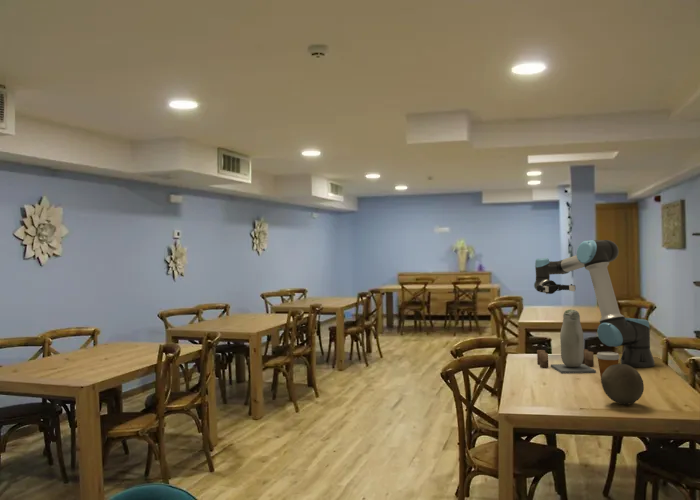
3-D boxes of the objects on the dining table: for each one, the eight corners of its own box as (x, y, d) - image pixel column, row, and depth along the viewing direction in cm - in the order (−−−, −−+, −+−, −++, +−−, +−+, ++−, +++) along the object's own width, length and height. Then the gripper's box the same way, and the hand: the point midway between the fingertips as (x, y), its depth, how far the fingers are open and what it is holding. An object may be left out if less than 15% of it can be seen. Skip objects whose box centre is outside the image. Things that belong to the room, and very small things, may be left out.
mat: (583, 366, 286) (583, 363, 286) (595, 372, 270) (595, 370, 270) (550, 366, 286) (550, 364, 286) (561, 373, 270) (561, 371, 270)
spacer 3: (589, 363, 292) (589, 349, 292) (585, 364, 290) (585, 350, 290) (582, 362, 295) (581, 348, 295) (578, 363, 293) (578, 349, 293)
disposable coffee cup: (623, 383, 248) (622, 355, 248) (599, 382, 250) (598, 355, 250) (617, 378, 257) (616, 351, 257) (594, 378, 259) (594, 351, 259)
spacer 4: (595, 366, 285) (594, 351, 285) (591, 367, 283) (590, 353, 283) (587, 365, 288) (587, 351, 288) (583, 366, 286) (583, 352, 286)
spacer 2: (550, 367, 285) (549, 353, 285) (545, 368, 283) (545, 354, 283) (542, 366, 288) (542, 352, 288) (538, 367, 286) (538, 353, 286)
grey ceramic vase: (557, 366, 280) (555, 309, 281) (572, 364, 285) (571, 308, 285) (572, 370, 271) (571, 311, 272) (588, 367, 276) (586, 309, 276)
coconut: (608, 398, 224) (607, 359, 224) (648, 403, 215) (646, 363, 215) (597, 406, 213) (596, 365, 213) (638, 411, 204) (637, 369, 204)
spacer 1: (547, 364, 293) (546, 350, 293) (543, 365, 290) (542, 351, 290) (540, 363, 296) (539, 349, 296) (535, 364, 293) (535, 350, 294)
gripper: (571, 292, 318) (585, 295, 296) (525, 294, 318) (537, 296, 297) (570, 279, 318) (585, 281, 297) (525, 280, 319) (536, 282, 297)
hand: (561, 289), depth 297 cm, fingers open, 13 cm apart
